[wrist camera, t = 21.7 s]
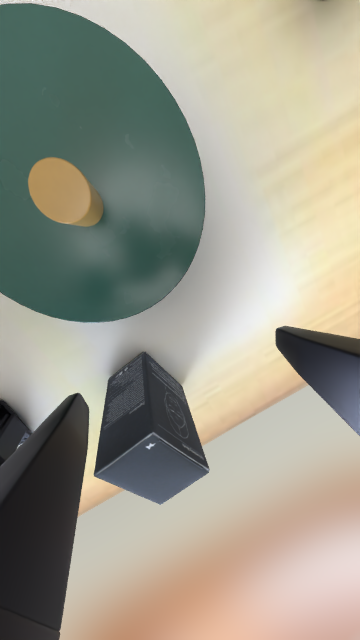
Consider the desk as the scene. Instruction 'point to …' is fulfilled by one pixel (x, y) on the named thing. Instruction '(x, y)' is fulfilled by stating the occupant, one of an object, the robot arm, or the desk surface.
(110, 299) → the tin lid
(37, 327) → the desk surface
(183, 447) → the box
